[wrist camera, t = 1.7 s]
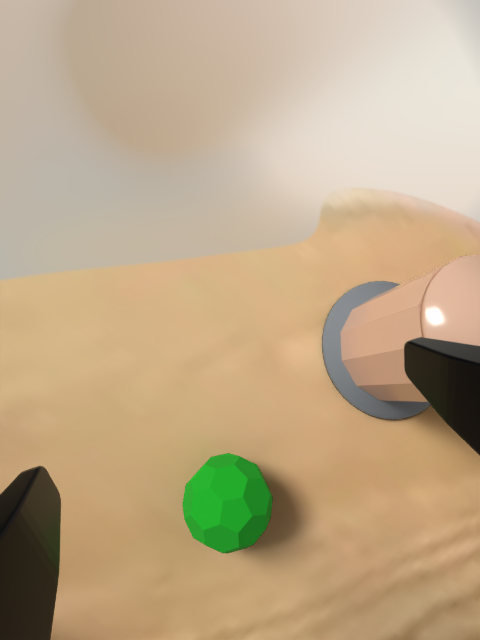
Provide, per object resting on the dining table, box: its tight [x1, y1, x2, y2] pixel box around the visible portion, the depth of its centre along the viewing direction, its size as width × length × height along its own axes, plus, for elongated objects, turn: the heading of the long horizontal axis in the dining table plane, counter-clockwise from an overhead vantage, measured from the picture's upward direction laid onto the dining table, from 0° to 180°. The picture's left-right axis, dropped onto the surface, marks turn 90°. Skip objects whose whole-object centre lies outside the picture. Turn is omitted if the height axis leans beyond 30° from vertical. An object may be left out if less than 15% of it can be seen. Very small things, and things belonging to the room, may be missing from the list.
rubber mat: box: [322, 281, 430, 419], centre depth 27 cm, size 10×10×1 cm
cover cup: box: [340, 255, 480, 402], centre depth 23 cm, size 7×7×9 cm
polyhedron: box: [183, 453, 273, 553], centre depth 21 cm, size 5×5×5 cm
